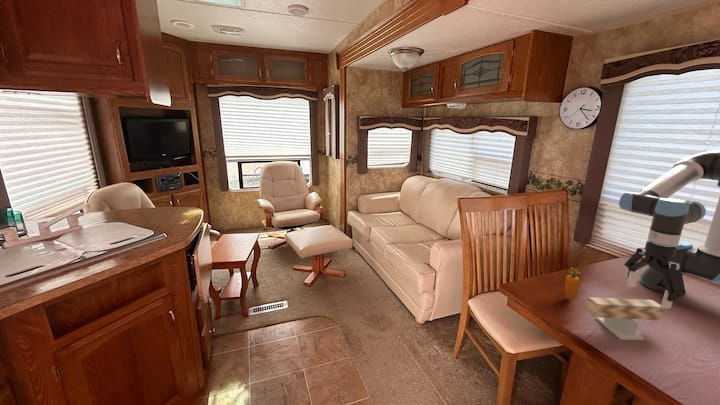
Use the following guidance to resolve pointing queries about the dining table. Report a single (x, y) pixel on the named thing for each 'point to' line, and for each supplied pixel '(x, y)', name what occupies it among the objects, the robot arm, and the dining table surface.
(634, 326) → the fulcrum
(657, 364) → the dining table surface
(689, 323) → the dining table surface
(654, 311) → the birch bar
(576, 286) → the carrot
